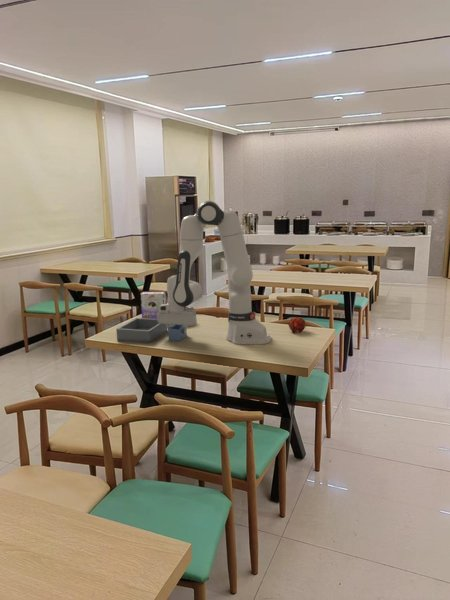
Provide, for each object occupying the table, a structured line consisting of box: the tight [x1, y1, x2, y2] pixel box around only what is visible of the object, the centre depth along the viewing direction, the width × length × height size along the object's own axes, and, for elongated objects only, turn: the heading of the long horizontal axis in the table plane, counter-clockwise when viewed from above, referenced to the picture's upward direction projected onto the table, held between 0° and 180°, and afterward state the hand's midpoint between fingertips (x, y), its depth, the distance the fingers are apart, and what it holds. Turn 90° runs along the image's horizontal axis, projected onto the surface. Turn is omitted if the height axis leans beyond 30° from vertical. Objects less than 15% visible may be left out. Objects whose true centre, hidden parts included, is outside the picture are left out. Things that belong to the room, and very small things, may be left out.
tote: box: [167, 325, 188, 342], centre depth 239 cm, size 6×10×6 cm, turn 164°
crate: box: [116, 317, 168, 344], centre depth 244 cm, size 18×22×6 cm
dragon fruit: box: [288, 316, 307, 334], centre depth 246 cm, size 8×8×12 cm
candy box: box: [139, 291, 167, 319], centre depth 273 cm, size 14×6×16 cm, turn 84°
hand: (177, 332), depth 239 cm, fingers open, 6 cm apart
